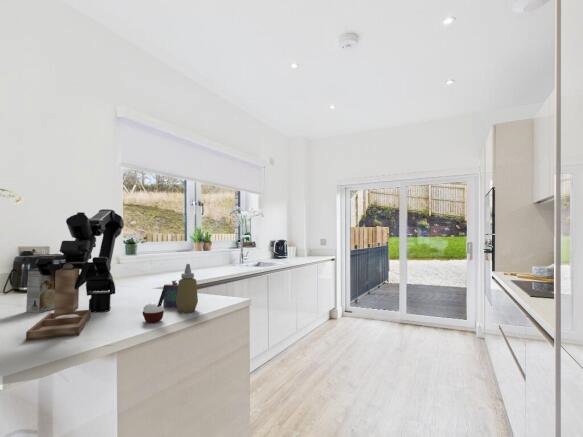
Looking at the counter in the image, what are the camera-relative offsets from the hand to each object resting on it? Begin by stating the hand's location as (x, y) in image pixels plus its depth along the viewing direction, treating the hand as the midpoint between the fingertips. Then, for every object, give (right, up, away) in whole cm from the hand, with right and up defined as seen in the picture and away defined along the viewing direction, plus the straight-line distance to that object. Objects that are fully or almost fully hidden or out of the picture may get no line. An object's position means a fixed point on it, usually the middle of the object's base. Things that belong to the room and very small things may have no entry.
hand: (65, 289), depth 90 cm
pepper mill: (0, -7, +1) cm, 7 cm away
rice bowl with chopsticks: (+19, -15, +14) cm, 28 cm away
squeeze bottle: (+25, -15, +29) cm, 42 cm away
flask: (+17, -16, +37) cm, 44 cm away
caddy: (-6, -14, +8) cm, 17 cm away
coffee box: (-31, -15, +31) cm, 47 cm away
